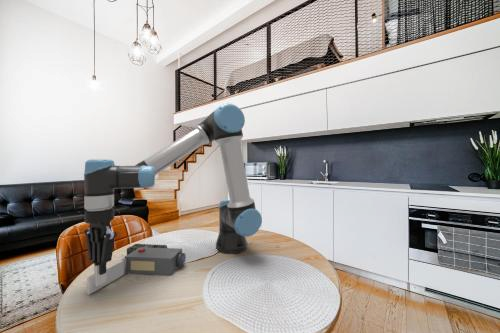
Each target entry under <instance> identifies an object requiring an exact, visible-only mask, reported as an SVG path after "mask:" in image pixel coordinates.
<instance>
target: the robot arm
mask: <svg viewBox="0 0 500 333" xmlns="http://www.w3.org/2000/svg"><path fill="white" fill-rule="evenodd" d="M245 122H246V118H245V115H244V113H243V111H242V110H241V108H239V107H238V106H237V105H235V104H233V103H223V104H221V105H218V107H216V108H215V110H213V111H212V112H211V113H210V114H209V115H208V116H206V118H204V119H203V120H202V121H201V122H200V123H198V124H196V125H195V127H194V129H193V130H191V131H189V132H188V133H186V134H185V135H183V136H181V137H179V138H178V139H176V140H174V141H173V142H171V143H170V144H168V145H166V146H165V147H163V148H161V149H160V150H158V151H157V152H155V153H153V154H152V155H150V156H149V157H146V158H145V159H144V160H141V161H140V162H138V163H137V164H135V165H116V164H115V161H114V160H112V159H101V158H100V159H95V158H94V159H88V160H86V161H85V163H84V173H83V177H84V178H83V180H84V183H83V184H84V198H83V199H84V200H83V201H84V203H83V204H84V207H83V208H84V210H85V211H84V223H85V224H89V226H88V228H85V229H84V231H83V232H84V236H85V240H86V247H87V253H88V260H89V261H91V263H92V264H93V274H94V286H99V285H101V284H103V283H105V282H106V268H107V264H108V262H111V261H112V258H113V250H114V246H115V245H114V244H115V239H116V237H117V234H118V233H117V232H116V231H113V230H112V225H111V222H112V221H113V220H114V219H115V208H114V206H115V189H117V190H119V189H141V188H142V189H145V188H153V187H154V186H155V180H156V178H155V177H156V175H158V174H160V173H161V172H163V171H164V170H166V169H167V168H169V167H171V166H173V164H176V163H177V162H178V161H180V160H181V159H183V158H184V157H186V156H187V155H190V154H191V153H192V152H194V151H196V150H197V149H199V148H200V147H202V146H203V145H205V144H206V145H208V144H211V143H212V142H215V143H217V144H219V147H220V148H219V149H220V153H221V158H222V159H221V160H222V165H223V169H224V175H225V182H226V187H227V192H228V196H229V197H228V198H229V199H228V200H226V199H225V200H221V201H220V202H219V208H218V209H219V211H218V213H219V214H218V215H219V217H218V218H219V219H218V220H219V221H218V222H219V227H218V228H219V229H218V230H219V232H218V235H217V238H216V242H215V250H216V249H217V250H218V251H217V250H216V251H217V252H219V253H222V254H226V255H227V254H230V255H231V254H239V253H242V252H244V251H245V250H247V248H248V241H247V238H246V237H252V236H254V235H255V234H256V233H258V231H259V229H260V228H261V226H262V222H263V217H262V215H261V212H259V210H257V209H256V204H255V199H253V198H252V197H251V195H250V191H249V184H248V178H247V172H246V168H245V167H246V166H245V161H244V160H245V159H244V157H243V156H244V155H243V150H242V144H241V141H242V140H243V137H244V133H243V128H244V126H245Z"/></svg>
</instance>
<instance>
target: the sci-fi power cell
mask: <svg viewBox="0 0 500 333" xmlns="http://www.w3.org/2000/svg"><path fill="white" fill-rule="evenodd" d="M140 247H148V248H168V245H167V244H148V243H134V244H133V245H131V246H128V247H127V248H126V256H127V255H128V254H130V253H132V252H133V251H135V250H136V249H138V248H140Z"/></svg>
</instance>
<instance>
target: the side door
mask: <svg viewBox="0 0 500 333" xmlns="http://www.w3.org/2000/svg"><path fill="white" fill-rule="evenodd" d="M125 275H127V273H126V258H125V257H124V258H122V259H121V260H119V261H117V262H115V263H113V264H111V265H109V266H106V282H105V283H103V284H101V285H99V286H94V273H93V274H91V275H89V276H87V277H86V294H87V295H91V294H93V293H94V292H96V291H98V290H100V289H102V288H103V287H105V286H106V285H108V284H110V283H111V282H113V281H116V279H117V280H118V279H119V278H120V277H122V276H125Z"/></svg>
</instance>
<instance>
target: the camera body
mask: <svg viewBox="0 0 500 333" xmlns="http://www.w3.org/2000/svg"><path fill="white" fill-rule="evenodd" d="M186 257H187V256H186V253H185V252H183V248H176V247H175V248H174V247H172V248H171V247H167V248H148V247H140V248H138V249H136V250H135V251H133V252H132V253H130V254H128V255H127V254H126V255H125V256H124V258H126V274H136V275H137V274H139V275H160V276H173V275H174V274H175V272H177V270H178V269H179V268H180V267H181V268H182V267H184V265H185V262H186Z"/></svg>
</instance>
